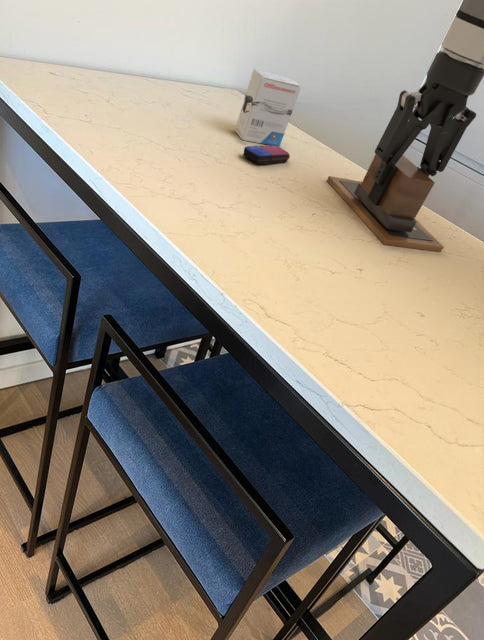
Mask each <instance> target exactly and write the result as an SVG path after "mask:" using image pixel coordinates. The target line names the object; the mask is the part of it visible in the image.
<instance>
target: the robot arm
mask: <svg viewBox="0 0 484 640" xmlns="http://www.w3.org/2000/svg"><path fill="white" fill-rule="evenodd" d="M441 48H442V49H443V50H439V51H438V52H436V53H435V56H434V58H433V59H432V61H431V64H430V66H429V68H428V70H427V72H426V80H425V82H424V84H423V85H422V86H421V87H420V88H419V89H418V90H417V91H413V92H408V91H407V90H402V91H400V93H399V96H398V101H397V106H396V108H395V110H394V112H393V115H392V116H391V118H390V120H389V121H388V124H387V126H386V128H385V130H384V132H383V133H382V136H381V137H380V139H379V141H378V144H377V145H376V148H375V150H374V155H375V154H376V155H377V156H378V157H379V158H381V160H382V161H381V164H380V166H379V168H378V170H377V172H376V174H375V176H374V180H375V183H374V185H373V187H372V189H371V191H370V193H369V195H368V198H369V199H370V200H371V201H372V202H373V203H374V205H377V206H379V204H380V202H381V200H382V198H383V196H384V194H385V192H386V191H387V189H388V187H389V185H390V183H391V181H392V179H393V177H394V175H395V173H396V171H397V168H396V167H395V166H394V165H395V164H396V163H397V162H398V160H399V159H400V158H401V157H402V155H403V156H404V154H405V153H406V151H407V150H408V149H409V148H410V146H411V145H412V144H413V142H414V141H415V140H416V139H417V138H418V136H419V135H420V133H421V132H422V131H423V130H426V129H427V128H428V127H429V126H430V129H429V133H428V137H427V140H426V143H425V147H424V150H423V154H422V157H421V160H420V165H419V166H416V167H417V168H419V169H420V170H421V171H422V172H423V173H424V174H426V175H427V176H428V177H429V178H430V177H435V176H436V175H437V174H438V173H442V172H444V171H445V169H446V167H447V165H448V163H450V160H451V159H452V156H453V154H454V152H455V151H456V149H457V147H458V145H459V143H460V142H461V139H462V137H463V135H464V133H465V132H466V130H467V127H469V126H470V125H471V123H473V121H474V120H475V119H476V117H477V113H476V112H475V111H474V110H472V109H471V108H469V107H467V105H468V100H469V99H468V98H469V96H473V95H474V94H475V93H476V91H477V89H478V87H479V86H480V84H481V82H482V80H483V78H484V0H462V1H461V3H460V6H459V8H458V10H457V11H456V13H455V16H454V17H453V19H452V21H451V23H450V25H449V27H448V29H447V31H446V33H445V36H444V38H443V39H442V42H441Z"/></svg>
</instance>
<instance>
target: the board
mask: <svg viewBox="0 0 484 640" xmlns="http://www.w3.org/2000/svg"><path fill="white" fill-rule="evenodd" d="M326 181H327V183H328V184H329V185H330V186H331V187H332V189H334V191H335V192H336V193H337V194H338V195H339V196H340V197H341V199H343V200H344V202H345V203H346V204H347V206H349V207H350V209H352V211H353V212H354V213H355V214H356V215H357V216H358V217H359V219H360V220H361V221H362V222H363V223H364V224H365V225H366V227H368V229H369V230H370V231H371V232H372V233H373V234H374V235H375V236H376V237H377V238H378V240H379V241H380V242H381V243H382V244H383V245H384V246H390V247H399V248H407V249H414V250H415V249H416V250H423V251H431V252H439V253H441V252H443V249H444V248H445V247H444V245H443V244H442V243H441V242H439V241H438V239H437V238H436V237H435V236H433V234H431V232H430V231H428V230H427V229H426V228H425V227H424V226H423V225H422V224H421V223H420V221H418V220H417V219H416V218H415V219H414V220H415V221H416V224H415V226H414V228H413V229H412V231H411V232H405V231H398V230H390V229H387V228H386V227H385V226H384V225H383V224H382V223H381V222H380V221H379V220H378V219H377V218H376V217H375V216H374V214H373V213H372V212H371V211H370V210H369V209H368V208H367V207H366V206H365V205H364V204H363V203H362V202H361V201H360V199H359V198H358V197H357V196H356V195H355V194H354V192H355V190H356V188H357V186H358V184H359V183H361V184H362V181H361V180H360V181H359V180H354V179H350V178H349V179H348V178H342V177H337V176H332V175H328V177H327V179H326Z"/></svg>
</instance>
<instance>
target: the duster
mask: <svg viewBox="0 0 484 640" xmlns="http://www.w3.org/2000/svg"><path fill="white" fill-rule="evenodd" d="M381 161H382V160H381V158H379V157H378V156H377V155H376V154H375V153H374V156H373V158H372V161H371V163H370V165H369V167H368V169H367V171H366V173H365V176H364V178H363V179H362V181H361V182H362V184H361V183H359V184H358V186H357V188H356V190H355V192H354V194H355V195H356V196H357V197H358V198H359V199H360V201H361V202H362V203H363V204H364V205H365V206H366V207H367V208H368V209H369V210H370V211H371V212H372V213H373V214H374V216H375V217H376V218H377V219H378V220H379V221H380V222H381V223H382V224H383V225H384V226H385V227H386V228H387V229H390V230H398V231H405V232H411V231H412V229H413V228H414V226H415V224H416V221H415V220H414V219H416V218H417V215H418V214H419V211H420V210H421V208H422V206H423V205H424V203H425V201H426V199H427V198H428V196H429V194H430V192H431V190H432V189H433V187H434V185H435V184H436V183H435V181H434V180H433V179H431V177H430V176H429V177H428V176H427V175H426V174H424V173H423V172H422V171H421V170H420V169H419V168H420V167H419V168H417V167H418V166H416V165H415V164H414V163H413V162H412V161H411V160H410V159H408V157H406V155H404V154H403V155H402V157H401V158H400V159H399V160H398V162H397V163H396V164H395V165H394V166H395V167H396V168H397V171H396V173H395V175H394V177H393V179H392V181H391V183H390V185H389V187H388V189H387V191H386V192H385V194H384V196H383V198H382V200H381V202H380V204H379V206H377V205H374V203H373V202H372V201H371V200H370V199H369V198H368V195H369V193H370V191H371V189H372V187H373V185H374V183H375V180H374V176H375V174H376V172H377V170H378V168H379V166H380V164H381Z"/></svg>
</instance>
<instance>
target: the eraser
mask: <svg viewBox="0 0 484 640" xmlns="http://www.w3.org/2000/svg"><path fill="white" fill-rule="evenodd" d="M243 156H244V157H246V158H247V159H249V160H251V161H252V162H255V163H256V164H258V165H269V164H270V165H271V164H280V163H281V164H282V163H286V162H288V160H289V159H290V156H291V155H290V153H289V151H287V150H285V149H283V148H281V147H280V146H275V145H267V144H266V145H248V146H244V149H243Z"/></svg>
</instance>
